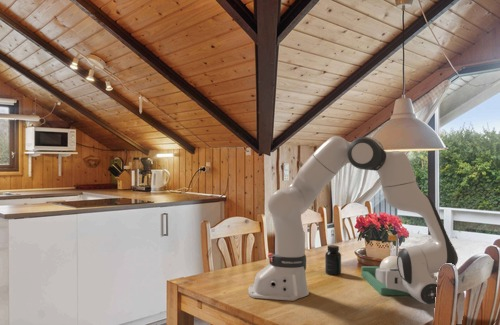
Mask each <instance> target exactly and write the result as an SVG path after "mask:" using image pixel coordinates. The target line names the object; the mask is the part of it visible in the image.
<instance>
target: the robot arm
mask: <svg viewBox="0 0 500 325" xmlns="http://www.w3.org/2000/svg"><path fill="white" fill-rule="evenodd" d="M410 161H411V160H410V158H409V157H408V155H407V154H406V153H405V152H403V151H395V150H393V151H386V150H385V149H384V147H383V145H382V143H381V142H380V141H379V140H377V139H376V138H374V137H371V136H363V137H358V138H355V139H354V140H353V141H348V140H346V139H345V138H344V137H342V136H340V135H332V136H330V137H329V138H328V139H327V140H326V141H324V142H322V144H321V145H320V146H319V147H318V148H316V150H315V151H314V152H313V153H312V154H311V155H310V156H309V158H307V160H306V161H305V162H304V164H302V166H301V167H300V168H299V169H298V172H297V174H296V175H295V177H294V178H293V181H292V182H291V183H290V184H289V185H288V186H287V187H283V188H279V189H277V190H276V191H275V192H273V193H272V194H271V195H270V196H269V198H268V202H267V208H268V211H269V212H270V214H271V217H272V218H271V219H272V223H273V228H274V253H273V252H269V253H268V254H267V256H268V257H267V258H268V259H269V263H268V264H267V265H266V266H265V267H264V268H262V269H261V270H259V271H258V272H256V275H255V278H254V281H253V283H252V284H251V285H249V286H248V289H247V292H248V293H247V294H248V295H249V297H251V298H253V299H266V300H278V301H292V302H293V301H296V300H298V299H301V298H304V297H306V296H308V295H309V293H310V291H309V288H308V282H307V276H306V270H307V255H306V251H305V250H306V233H305V229H304V228H303V222H302V215H303V214H305V212H306V211H308V210H309V208H310V207H311V205H312V204H313V203H314V202H315V201H316V199H317V197H319V195H320V193H321V192H322V191H323V190H324V188H325V187H326V186H327V185H328V184H329V183H330V182H331V180H333V178H335V176H336V175H337V174H339V172H340V170H342V169H343V167H344V166H346V165H348V164H351V165H352V166H353V167H354V168H356V169H359V170H366V171H374V172H375V171H376V173H377V175H378V176H379V180H380V184H381V189H382V190H381V191H382V194H383V196H384V200H385V201H386V203H387V204H388V205H389V206H390V207H392V208H394V209H396V210H399V211H404V212H409V213H414V214H418V215H420V216H421V217H422V218H423V220H424V222H425V224H426V227H427V229H428V231H429V233H430V236H431V238H432V241H431V242H428V243H424V244H419V245H413V246H408V247H407V246H406V247H403V248H402V249H401V250H400V251H399V252H398V258H397V266H398V268H395V267H394V268H377V269H376V273H375V275H376V277H375V278H376V279H377V280H378V281H380V282H381V283H382V284H385V285H386V287H387V288H388V289H394V290H400V291H403V292H407V293H409V294H410V295H409V296H411V297H412V298H413V299H415V300H416V301H418V302H420V303H422V304H424V305H434V304H436V303H435V297H436V287H437V283H438V282H437V281H438V280H437V277H438V276H436V275H435V273H440V272H439V269H440V267H441V266H442V265H443V264H445V263H452V264H454V265H455V267H456V266H457V264H458V263H459V262H458V261H459V256H458V253H457V251H456V248H455V247H454V245H453V242H452V241H451V240H450V238H449V236H448V232H447V231H446V229H445V226H444V224H443V220H442V219H441V217H440V214H439V212H438V210H437V207H436V205H435V204H434V201H433V199H432V198H431V197H430V196H429V195H427V194H425V193H423V192H422V191H421V189H420V188H419V186H418V184H417V179H416V175H415V172H414V169H413V166H412V163H411V162H410Z"/></svg>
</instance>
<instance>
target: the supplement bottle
mask: <svg viewBox="0 0 500 325" xmlns="http://www.w3.org/2000/svg"><path fill="white" fill-rule="evenodd" d="M326 250H327V251H326V252H325V253H324V254H325V255H324V258H325V259H324V260H325V261H324V264H325V267H324V268H325V270H324V271H325V274H326V275H329V276H340V275H341V274H342V253H341V252H339V250H340V246H339V245H334V244H333V245H332V244H330V245H327V249H326Z"/></svg>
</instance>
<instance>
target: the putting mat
mask: <svg viewBox="0 0 500 325" xmlns="http://www.w3.org/2000/svg"><path fill="white" fill-rule="evenodd" d="M388 241H389V242H394V241H395V256H398V255H399V234H389V235H388ZM377 268H380V265H379V266H377V265H376V266H375V265H373V266H370V265H367V266H365V265H364V266H362V265H361V268H360V269H361V270H360V271H361V273H360V276H361V277H362V278H363V279H364V280H365V281H366V282H367V283H369V284H370V286H371V287H372V288H373V289H374V290H375V291H377V292H378V293H379V295H381V296H411V295H410V294H409V293H407V292H403V291H400V290H394V289H388V288H387V287H386V285H385V284H382V283H381V282H380V281H378V280H377V279H376V275H375V273H376V269H377Z"/></svg>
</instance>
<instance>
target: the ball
mask: <svg viewBox="0 0 500 325" xmlns="http://www.w3.org/2000/svg"><path fill="white" fill-rule="evenodd" d="M397 258H398V256H396V255H389V256H387V257H385V258H383V259H382V260H381V262H380V264H379V266H380V268H394V267H395V268H398V266H397Z"/></svg>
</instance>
